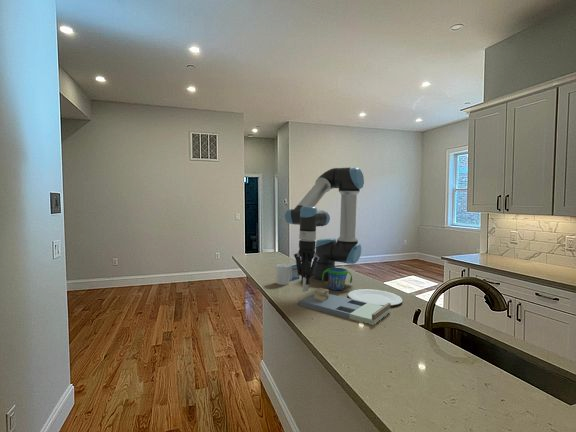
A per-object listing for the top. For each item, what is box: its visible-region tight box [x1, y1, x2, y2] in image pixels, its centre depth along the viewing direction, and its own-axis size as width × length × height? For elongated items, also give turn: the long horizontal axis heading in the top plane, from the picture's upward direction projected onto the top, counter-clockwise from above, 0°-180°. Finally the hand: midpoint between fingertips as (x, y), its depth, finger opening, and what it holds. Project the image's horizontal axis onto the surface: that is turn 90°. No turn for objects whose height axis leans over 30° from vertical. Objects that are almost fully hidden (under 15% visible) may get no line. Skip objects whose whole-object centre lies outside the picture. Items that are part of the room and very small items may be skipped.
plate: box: [347, 288, 403, 307], centre depth 151 cm, size 25×25×2 cm
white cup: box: [275, 263, 291, 286], centre depth 174 cm, size 8×8×10 cm
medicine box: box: [289, 262, 301, 281], centre depth 185 cm, size 8×4×9 cm, turn 143°
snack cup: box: [321, 267, 353, 291], centre depth 167 cm, size 16×10×10 cm
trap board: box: [298, 293, 392, 326], centre depth 136 cm, size 18×34×4 cm, turn 54°
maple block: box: [314, 287, 330, 301], centre depth 142 cm, size 4×4×4 cm
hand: (305, 291), depth 147 cm, fingers closed
